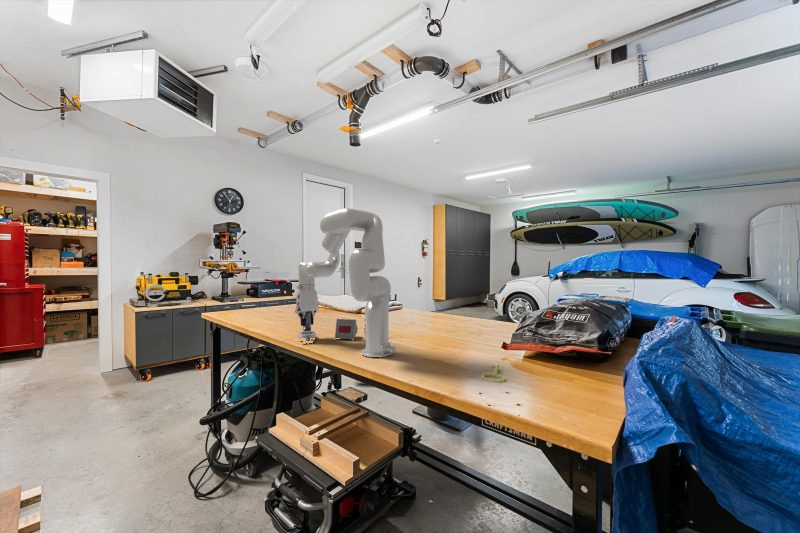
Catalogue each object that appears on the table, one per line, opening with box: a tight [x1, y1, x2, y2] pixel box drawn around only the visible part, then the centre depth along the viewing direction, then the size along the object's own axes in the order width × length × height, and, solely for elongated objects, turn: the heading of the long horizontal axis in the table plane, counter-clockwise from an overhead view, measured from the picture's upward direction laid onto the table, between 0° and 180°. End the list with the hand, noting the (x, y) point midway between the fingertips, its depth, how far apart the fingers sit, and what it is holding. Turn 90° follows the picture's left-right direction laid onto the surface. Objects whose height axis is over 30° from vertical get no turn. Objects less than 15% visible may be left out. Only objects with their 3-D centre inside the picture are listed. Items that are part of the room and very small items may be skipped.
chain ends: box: [298, 330, 317, 342], centre depth 154 cm, size 24×8×3 cm, turn 18°
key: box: [480, 364, 506, 383], centre depth 102 cm, size 7×12×2 cm, turn 173°
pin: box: [302, 311, 312, 331], centre depth 153 cm, size 4×4×10 cm
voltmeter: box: [334, 318, 365, 340], centre depth 155 cm, size 27×11×10 cm, turn 111°
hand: (307, 324), depth 153 cm, fingers closed on pin, 3 cm apart
